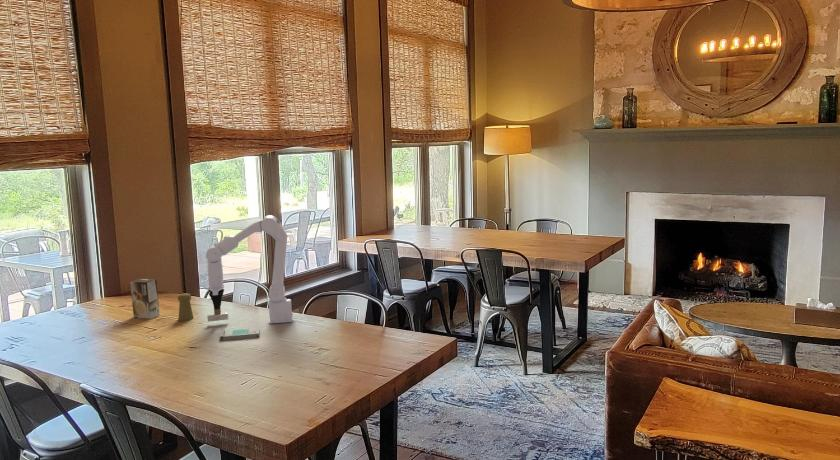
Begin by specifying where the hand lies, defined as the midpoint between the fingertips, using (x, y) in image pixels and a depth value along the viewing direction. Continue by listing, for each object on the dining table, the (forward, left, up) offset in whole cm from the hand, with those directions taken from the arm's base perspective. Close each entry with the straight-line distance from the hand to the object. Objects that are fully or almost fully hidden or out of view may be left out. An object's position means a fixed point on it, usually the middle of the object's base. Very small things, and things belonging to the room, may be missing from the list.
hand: (217, 308), depth 260 cm
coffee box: (+31, -21, -7) cm, 38 cm away
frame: (-9, +17, -7) cm, 20 cm away
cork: (+14, -12, -7) cm, 20 cm away
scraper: (0, 0, -5) cm, 5 cm away
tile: (-9, +16, -7) cm, 20 cm away
